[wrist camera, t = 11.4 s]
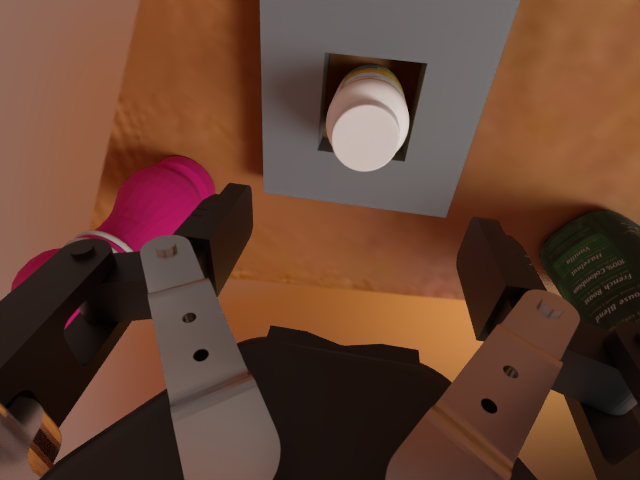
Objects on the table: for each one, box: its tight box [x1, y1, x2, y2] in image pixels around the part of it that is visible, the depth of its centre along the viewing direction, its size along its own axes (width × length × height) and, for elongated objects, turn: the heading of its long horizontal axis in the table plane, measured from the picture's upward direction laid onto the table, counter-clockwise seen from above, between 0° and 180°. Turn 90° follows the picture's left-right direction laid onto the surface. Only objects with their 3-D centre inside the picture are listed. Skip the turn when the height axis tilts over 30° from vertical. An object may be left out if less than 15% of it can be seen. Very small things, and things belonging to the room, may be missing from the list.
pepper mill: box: [11, 156, 215, 330], centre depth 27 cm, size 7×7×20 cm
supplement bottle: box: [326, 64, 409, 172], centre depth 24 cm, size 5×5×10 cm
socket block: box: [260, 0, 520, 218], centre depth 27 cm, size 16×16×3 cm
